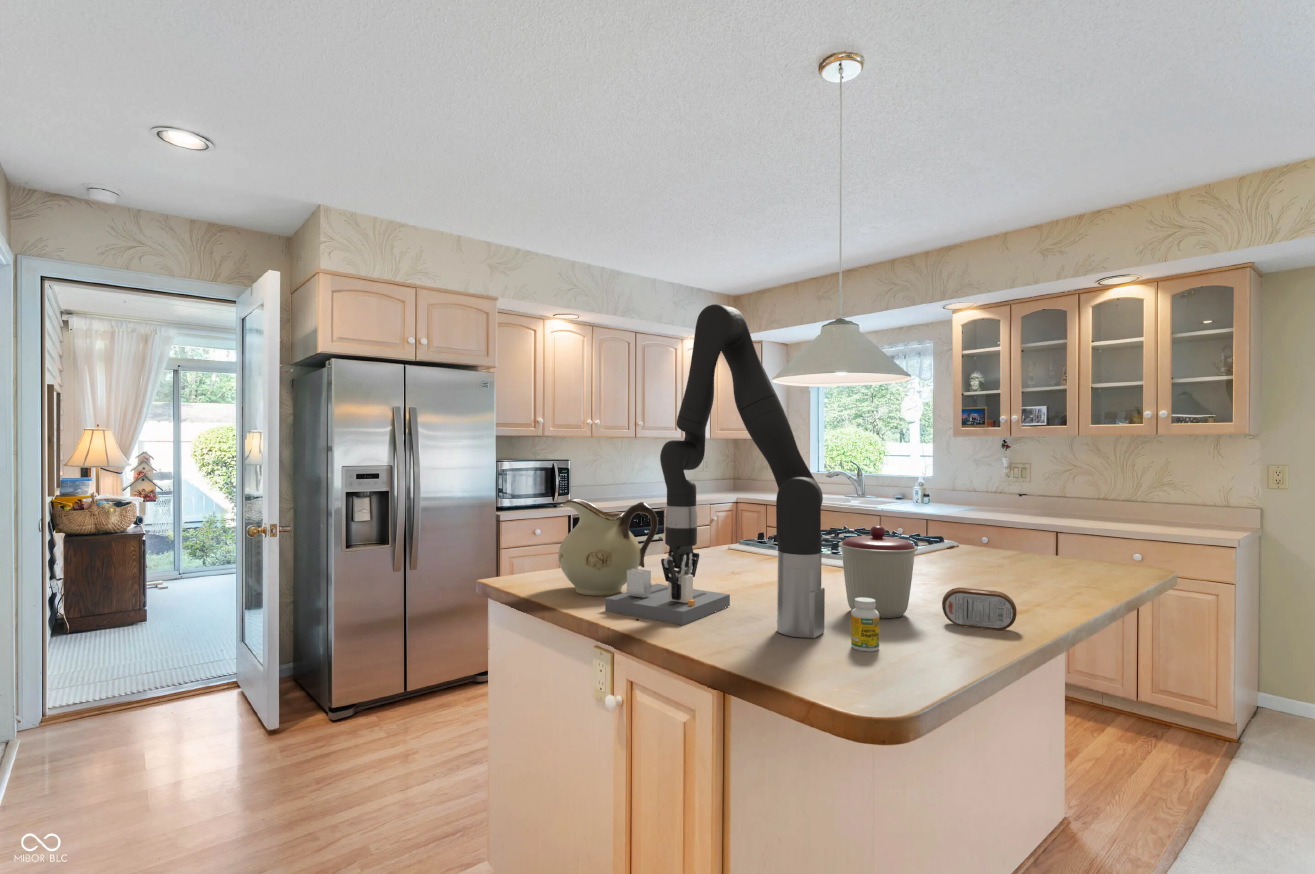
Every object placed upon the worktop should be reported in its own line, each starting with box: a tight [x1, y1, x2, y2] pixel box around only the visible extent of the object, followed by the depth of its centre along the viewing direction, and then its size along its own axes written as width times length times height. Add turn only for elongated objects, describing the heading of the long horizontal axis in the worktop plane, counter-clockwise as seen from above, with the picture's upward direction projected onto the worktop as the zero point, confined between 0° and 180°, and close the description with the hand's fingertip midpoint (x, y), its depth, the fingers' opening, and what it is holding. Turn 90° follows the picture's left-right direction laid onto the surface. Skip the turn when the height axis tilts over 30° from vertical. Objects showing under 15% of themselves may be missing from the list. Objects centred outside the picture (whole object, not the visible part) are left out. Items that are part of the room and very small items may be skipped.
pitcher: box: [558, 497, 659, 597], centre depth 181 cm, size 22×24×25 cm
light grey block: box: [626, 568, 652, 598], centre depth 160 cm, size 5×3×6 cm, turn 56°
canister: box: [838, 525, 919, 619], centre depth 159 cm, size 18×18×21 cm
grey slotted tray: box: [604, 582, 731, 626], centre depth 161 cm, size 22×22×4 cm
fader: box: [667, 573, 694, 603], centre depth 156 cm, size 5×3×6 cm, turn 56°
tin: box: [941, 586, 1017, 631], centre depth 147 cm, size 15×3×8 cm, turn 65°
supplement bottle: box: [850, 598, 880, 653], centre depth 131 cm, size 5×5×10 cm
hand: (680, 597), depth 156 cm, fingers closed on fader, 3 cm apart
